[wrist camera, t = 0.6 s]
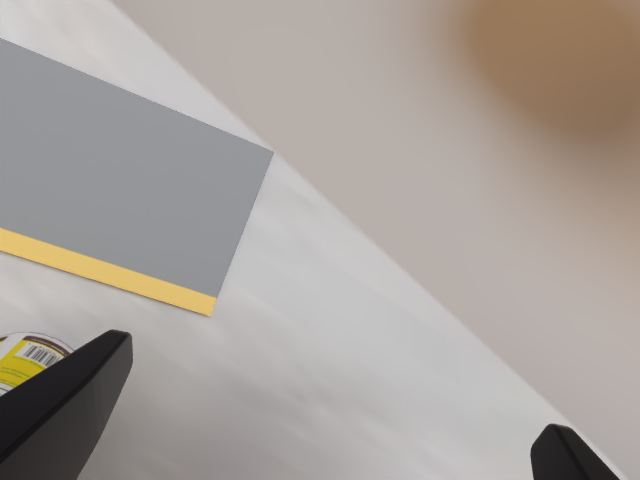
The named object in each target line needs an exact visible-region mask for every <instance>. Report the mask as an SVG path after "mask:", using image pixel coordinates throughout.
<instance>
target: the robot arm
mask: <svg viewBox="0 0 640 480" xmlns="http://www.w3.org/2000/svg"><path fill="white" fill-rule="evenodd" d="M132 363H133V351H132V336H131V334H130V333H128V332H123V331H119V330H109V331H107V332H105V333H103V334H102V335H100V336H99V337H97V338H95V339H94V340H92V341H90V342H89V343H87V344H85V345H84V346H82V347H80V348H79V349H77V350H75V351H74V352H72V353H70V354H69V355H67V356H65V357H64V358H62V359H61V360H59V361H57V362H56V363H54V364H52V365H51V366H49V367H47V368H46V369H44V370H42V371H41V372H39V373H37V374H36V375H34V376H32V377H31V378H29V379H27V380H26V381H24V382H23V383H21V384H19V385H18V386H16V387H14V388H13V389H11V390H9V391H8V392H6V393H4V394H3V395H1V396H0V480H76V479H77V477H78V475H79V474H80V472H81V470H82V469H83V467H84V465H85V464H86V462H87V460H88V458H89V457H90V455H91V453H92V452H93V450H94V448H95V446H96V444H97V442H98V441H99V439H100V437H101V434H102V432H103V430H104V428H105V426H106V424H107V421H108V419H109V417H110V415H111V413H112V410H113V408H114V406H115V404H116V402H117V399H118V397H119V395H120V393H121V390H122V388H123V386H124V384H125V382H126V379H127V377H128V375H129V373H130V370H131V367H132ZM531 464H532V471H533V478H534V480H620V479H619V478H618V477H617V476H616V475H615V474H614V473H613V472H612V471H611V470H610V469H609V468H608V466H607V465H606V464H605V463H604V462H603V461H602V460H601V459H600V458H599V457H598V456H597V455H596V454H595V453H594V452H593V450H592V449H591V448H590V447H589V446H588V445H587V444H586V443H585V442H584V441H583V440H582V439H581V438H580V437H579V436H578V435H577V433H576V432H575V431H574V430H573V429H571V428H569V427H567V426H562V425H558V424H549V425H547V426H546V427H545V429H544V430H543V431H542V433H541V434H540V435H539V437H538V438H537V439H536V441H535V442H534V443H533V445H532V448H531Z"/></svg>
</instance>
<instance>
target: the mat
mask: <svg viewBox="0 0 640 480" xmlns="http://www.w3.org/2000/svg"><path fill="white" fill-rule="evenodd" d="M273 153H274V152H273V151H270V150H268V149H265V148H263V147H261V146H258V145H256V144H253V143H251V142H249V141H246V140H244V139H241V138H239V137H237V136H234V135H232V134H229V133H227V132H225V131H222V130H220V129H217V128H215V127H213V126H210V125H208V124H205V123H203V122H201V121H198V120H196V119H193V118H191V117H189V116H186V115H184V114H181V113H179V112H177V111H174V110H172V109H169V108H167V107H165V106H162V105H160V104H157V103H155V102H152V101H150V100H148V99H145V98H143V97H140V96H138V95H136V94H133V93H131V92H128V91H126V90H124V89H121V88H119V87H116V86H114V85H112V84H109V83H107V82H104V81H102V80H100V79H97V78H95V77H92V76H90V75H88V74H85V73H83V72H80V71H78V70H76V69H73V68H71V67H68V66H66V65H64V64H61V63H59V62H56V61H54V60H52V59H49V58H47V57H44V56H42V55H40V54H37V53H35V52H32V51H30V50H28V49H25V48H23V47H20V46H18V45H16V44H13V43H11V42H8V41H6V40H4V39H1V38H0V251H4V252H7V253H10V254H13V255H16V256H20V257H23V258H26V259H29V260H32V261H35V262H39V263H42V264H45V265H48V266H51V267H55V268H58V269H61V270H64V271H67V272H71V273H74V274H77V275H80V276H83V277H86V278H90V279H93V280H96V281H99V282H102V283H106V284H109V285H112V286H115V287H118V288H121V289H125V290H128V291H131V292H134V293H137V294H141V295H144V296H147V297H150V298H153V299H157V300H160V301H163V302H166V303H169V304H172V305H176V306H179V307H182V308H185V309H188V310H192V311H195V312H198V313H201V314H204V315H208V316H210V315H211V312H212V310H213V307H214V305H215V302H216V299H217V296H218V294H219V291H220V289H221V286H222V284H223V281H224V279H225V276H226V273H227V271H228V268H229V266H230V263H231V261H232V258H233V255H234V253H235V250H236V248H237V245H238V243H239V240H240V237H241V235H242V232H243V230H244V227H245V225H246V222H247V220H248V217H249V214H250V212H251V209H252V207H253V204H254V202H255V199H256V196H257V194H258V191H259V189H260V186H261V184H262V181H263V178H264V176H265V173H266V171H267V168H268V166H269V163H270V160H271V158H272V155H273Z"/></svg>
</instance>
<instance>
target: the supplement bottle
mask: <svg viewBox="0 0 640 480" xmlns="http://www.w3.org/2000/svg"><path fill="white" fill-rule="evenodd" d="M72 352H74V351H73V350H72V349H70V348H69V347H68V346H66V345H65V344H63V343H62V342H60V341H58V340H56V339H54V338H51V337H49V336H46V335H42V334H36V333H13V334H8V335H4V336H1V337H0V396H1V395H3V394H4V393H6V392H8V391H9V390H11V389H13V388H14V387H16V386H18V385H19V384H21V383H23V382H24V381H26V380H27V379H29V378H31V377H32V376H34V375H36V374H37V373H39V372H41V371H42V370H44V369H46V368H47V367H49V366H51V365H52V364H54V363H56V362H57V361H59V360H61V359H62V358H64V357H65V356H67V355H69V354H70V353H72Z"/></svg>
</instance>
